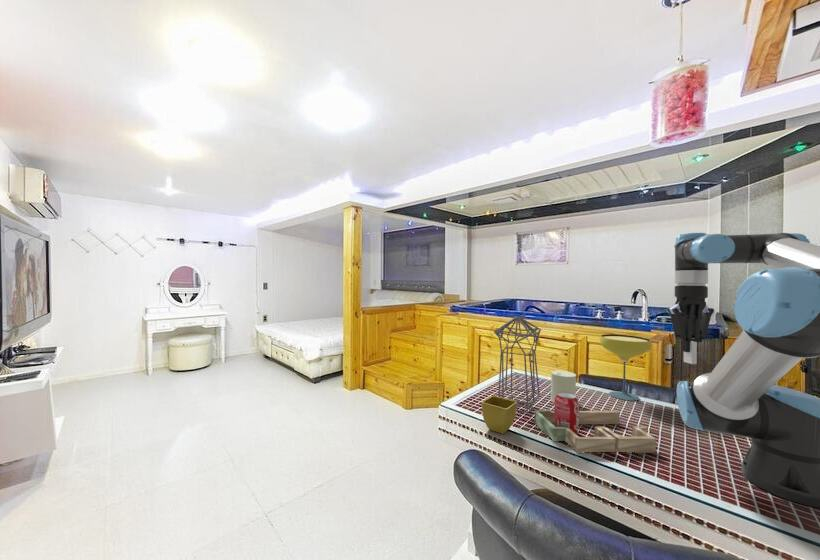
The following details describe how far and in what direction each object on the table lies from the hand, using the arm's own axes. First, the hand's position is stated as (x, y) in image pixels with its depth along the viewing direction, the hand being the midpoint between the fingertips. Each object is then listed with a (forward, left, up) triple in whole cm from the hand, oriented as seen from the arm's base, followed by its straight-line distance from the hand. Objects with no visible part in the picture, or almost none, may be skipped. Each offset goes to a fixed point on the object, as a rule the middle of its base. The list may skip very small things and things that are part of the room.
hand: (689, 362), depth 95 cm
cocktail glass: (+39, -9, -25) cm, 47 cm away
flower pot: (+10, +55, -25) cm, 61 cm away
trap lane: (+5, +26, -24) cm, 36 cm away
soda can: (+8, +34, -25) cm, 42 cm away
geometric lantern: (+28, +42, -25) cm, 56 cm away
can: (+33, +21, -25) cm, 46 cm away
